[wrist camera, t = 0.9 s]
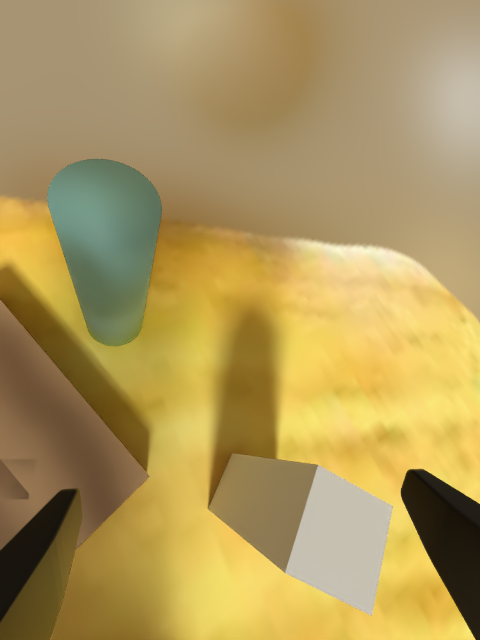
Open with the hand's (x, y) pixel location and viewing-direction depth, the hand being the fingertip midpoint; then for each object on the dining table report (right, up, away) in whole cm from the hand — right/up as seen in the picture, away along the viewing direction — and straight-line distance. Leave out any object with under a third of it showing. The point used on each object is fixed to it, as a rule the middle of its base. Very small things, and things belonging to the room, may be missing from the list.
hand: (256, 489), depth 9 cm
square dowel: (0, -8, +15) cm, 17 cm away
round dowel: (-10, +5, +16) cm, 19 cm away
